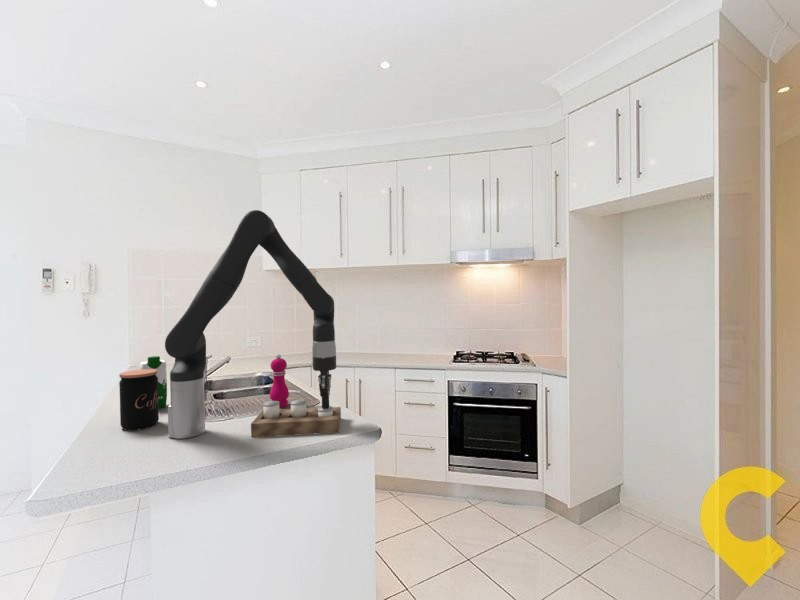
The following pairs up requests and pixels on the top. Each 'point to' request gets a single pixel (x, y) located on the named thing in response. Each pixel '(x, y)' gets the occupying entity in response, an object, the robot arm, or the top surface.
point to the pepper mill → (279, 382)
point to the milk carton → (162, 377)
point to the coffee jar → (139, 399)
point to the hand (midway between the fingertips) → (325, 408)
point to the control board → (296, 423)
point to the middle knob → (298, 408)
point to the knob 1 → (271, 410)
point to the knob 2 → (325, 411)
